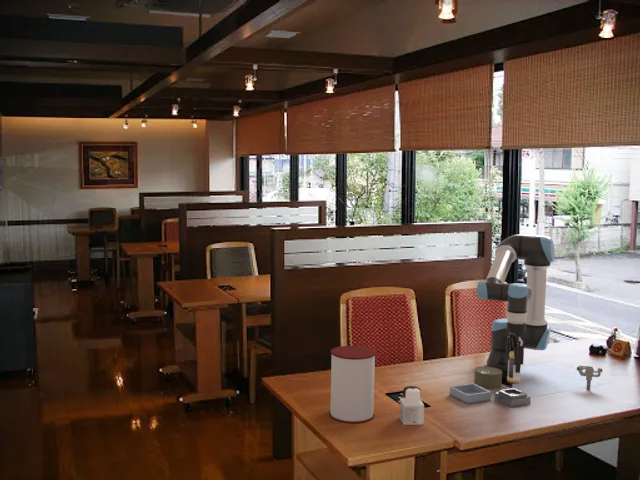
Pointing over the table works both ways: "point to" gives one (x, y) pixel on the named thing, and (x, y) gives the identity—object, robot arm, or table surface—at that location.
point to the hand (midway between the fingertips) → (513, 377)
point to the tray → (470, 393)
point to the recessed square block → (512, 397)
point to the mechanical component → (588, 373)
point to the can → (488, 377)
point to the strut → (511, 369)
